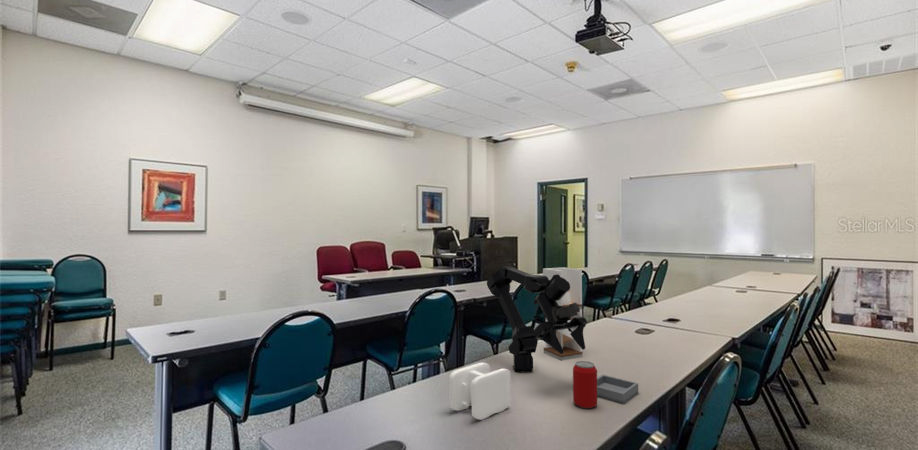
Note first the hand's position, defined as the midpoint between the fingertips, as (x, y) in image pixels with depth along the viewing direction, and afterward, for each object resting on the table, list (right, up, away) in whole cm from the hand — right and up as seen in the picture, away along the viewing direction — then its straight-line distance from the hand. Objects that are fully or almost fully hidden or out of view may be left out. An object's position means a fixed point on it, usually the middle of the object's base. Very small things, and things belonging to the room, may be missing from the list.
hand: (573, 351), depth 130 cm
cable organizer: (-30, -14, -11) cm, 35 cm away
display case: (+7, -14, +40) cm, 43 cm away
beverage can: (+1, -14, -8) cm, 16 cm away
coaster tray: (+12, -13, 0) cm, 18 cm away
